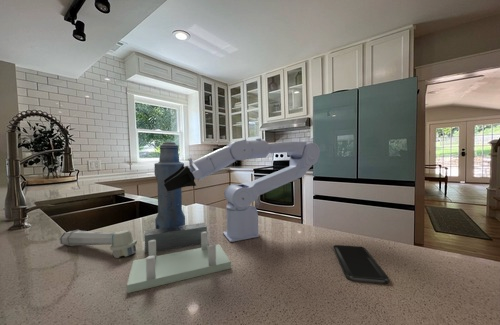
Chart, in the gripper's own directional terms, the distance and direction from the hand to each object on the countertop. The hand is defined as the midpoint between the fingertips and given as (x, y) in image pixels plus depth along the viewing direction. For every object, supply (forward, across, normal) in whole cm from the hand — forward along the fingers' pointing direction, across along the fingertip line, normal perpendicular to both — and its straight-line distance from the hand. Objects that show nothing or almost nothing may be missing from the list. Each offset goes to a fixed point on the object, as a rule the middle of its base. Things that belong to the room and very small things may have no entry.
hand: (165, 185), depth 56 cm
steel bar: (+5, 0, +17) cm, 18 cm away
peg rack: (+4, +13, +17) cm, 21 cm away
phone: (-29, +27, +32) cm, 51 cm away
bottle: (+6, -16, +17) cm, 24 cm away
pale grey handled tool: (+23, -7, +9) cm, 26 cm away
